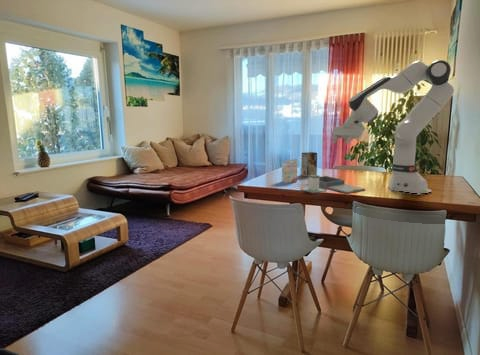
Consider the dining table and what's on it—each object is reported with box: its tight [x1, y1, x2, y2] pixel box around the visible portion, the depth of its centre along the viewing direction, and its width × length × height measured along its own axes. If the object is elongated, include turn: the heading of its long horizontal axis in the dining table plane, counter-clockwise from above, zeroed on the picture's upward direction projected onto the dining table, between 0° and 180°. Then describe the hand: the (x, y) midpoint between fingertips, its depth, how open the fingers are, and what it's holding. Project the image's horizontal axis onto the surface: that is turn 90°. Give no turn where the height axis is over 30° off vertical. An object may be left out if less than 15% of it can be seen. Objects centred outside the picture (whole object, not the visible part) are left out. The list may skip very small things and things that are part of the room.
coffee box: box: [300, 151, 318, 177], centre depth 236 cm, size 9×6×16 cm
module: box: [307, 174, 321, 191], centre depth 191 cm, size 4×4×8 cm
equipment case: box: [307, 175, 366, 194], centre depth 200 cm, size 30×15×4 cm, turn 32°
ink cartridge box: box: [281, 158, 298, 184], centre depth 214 cm, size 9×5×15 cm, turn 112°
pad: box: [300, 187, 327, 194], centre depth 192 cm, size 10×10×1 cm
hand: (339, 142), depth 201 cm, fingers open, 8 cm apart
